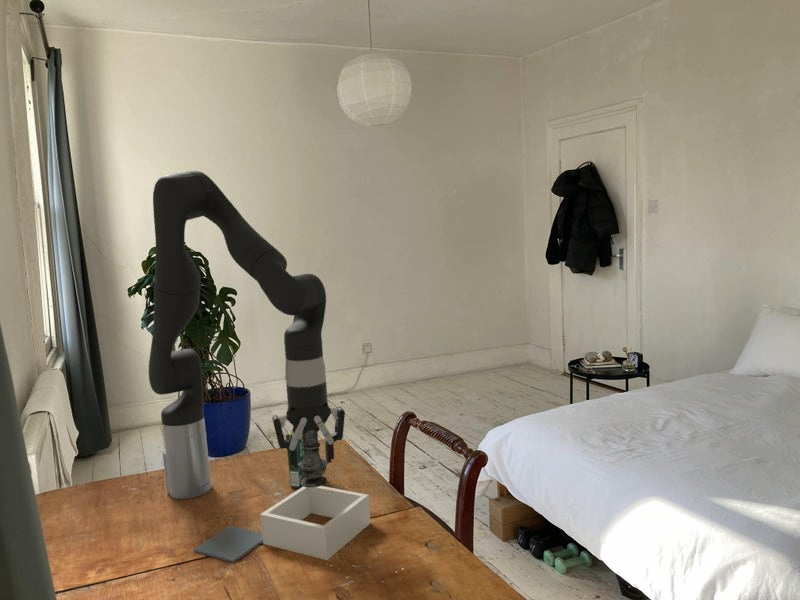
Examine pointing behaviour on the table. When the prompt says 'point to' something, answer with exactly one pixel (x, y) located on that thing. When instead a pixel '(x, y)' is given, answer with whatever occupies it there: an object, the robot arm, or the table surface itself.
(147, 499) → the table surface
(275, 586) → the table surface
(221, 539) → the mat
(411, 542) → the table surface
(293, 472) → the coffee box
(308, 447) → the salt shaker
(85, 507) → the table surface
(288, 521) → the frame
